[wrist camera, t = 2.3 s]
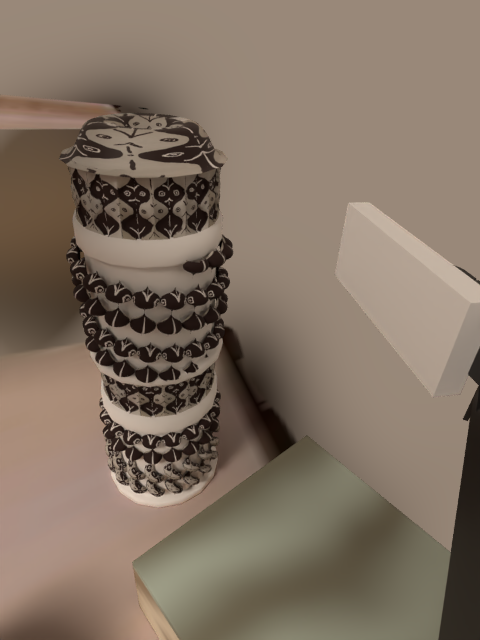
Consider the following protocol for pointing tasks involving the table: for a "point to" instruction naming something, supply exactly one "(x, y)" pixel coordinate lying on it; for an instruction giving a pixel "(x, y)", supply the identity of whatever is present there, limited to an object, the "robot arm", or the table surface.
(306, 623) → the riser
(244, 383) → the table surface
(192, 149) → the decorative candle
